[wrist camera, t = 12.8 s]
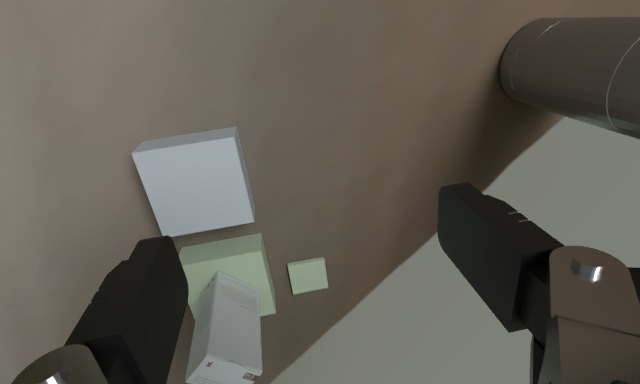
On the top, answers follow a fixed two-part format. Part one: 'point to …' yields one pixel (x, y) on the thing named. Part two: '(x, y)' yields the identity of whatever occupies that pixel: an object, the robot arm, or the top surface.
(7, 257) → the top surface
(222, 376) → the skincare box
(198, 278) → the sage riser block
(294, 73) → the top surface
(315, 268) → the sage tile
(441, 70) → the top surface
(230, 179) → the blue-grey riser block
